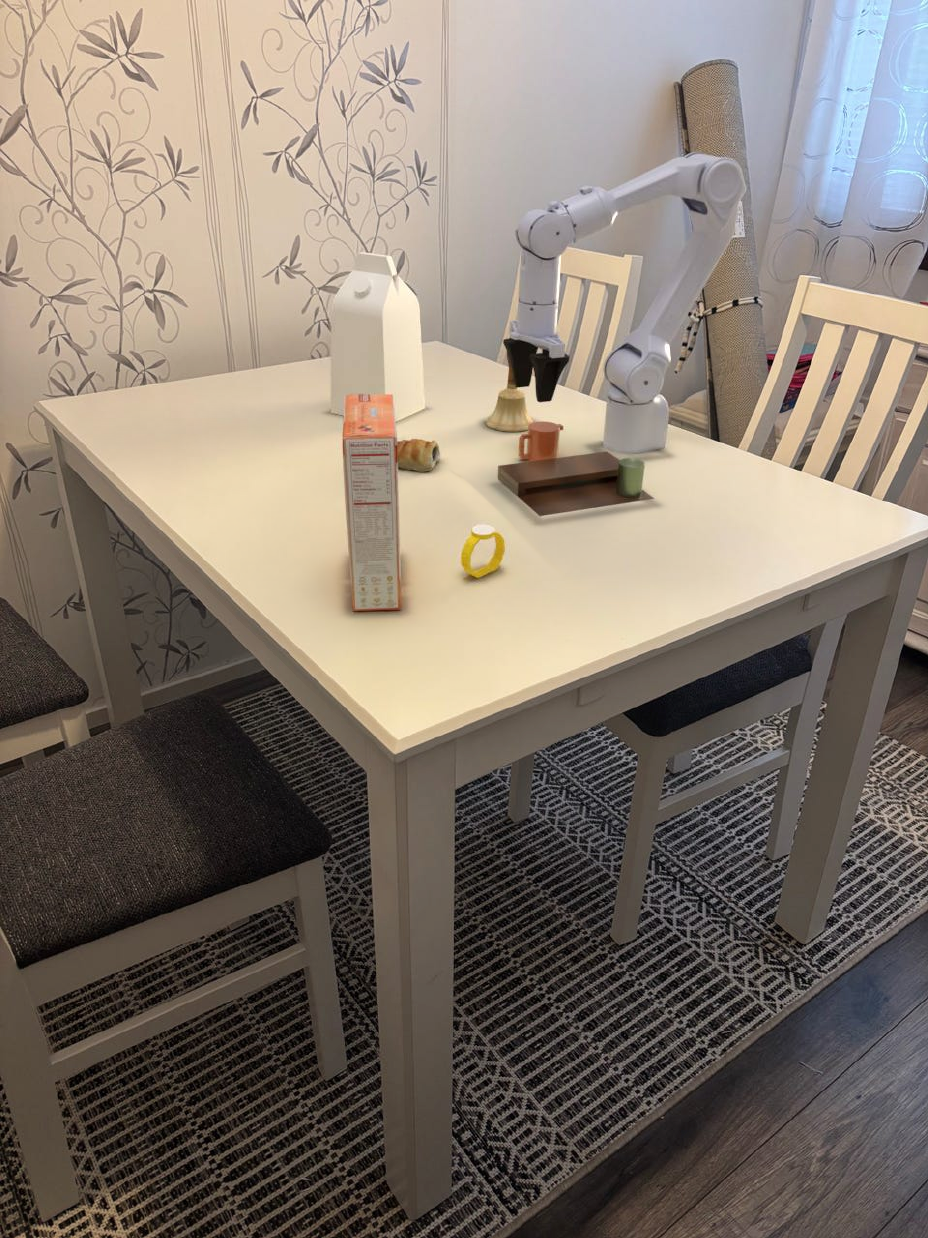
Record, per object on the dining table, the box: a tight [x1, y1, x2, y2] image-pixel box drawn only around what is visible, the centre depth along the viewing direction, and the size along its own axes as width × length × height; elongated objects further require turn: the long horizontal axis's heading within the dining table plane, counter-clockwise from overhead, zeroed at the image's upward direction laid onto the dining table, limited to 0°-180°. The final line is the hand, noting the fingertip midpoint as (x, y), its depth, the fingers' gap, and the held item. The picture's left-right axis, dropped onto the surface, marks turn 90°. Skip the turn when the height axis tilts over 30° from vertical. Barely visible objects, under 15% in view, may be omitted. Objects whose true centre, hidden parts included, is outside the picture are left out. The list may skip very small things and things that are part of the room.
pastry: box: [397, 438, 441, 472], centre depth 148 cm, size 9×7×4 cm
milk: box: [330, 251, 426, 423], centre depth 164 cm, size 12×12×26 cm
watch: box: [460, 524, 506, 579], centre depth 116 cm, size 6×3×6 cm, turn 132°
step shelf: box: [497, 451, 655, 517], centre depth 139 cm, size 18×14×3 cm
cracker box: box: [342, 394, 403, 612], centre depth 110 cm, size 14×6×21 cm, turn 5°
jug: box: [518, 421, 564, 462], centre depth 148 cm, size 7×5×6 cm
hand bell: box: [485, 336, 534, 433], centre depth 161 cm, size 8×8×16 cm
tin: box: [616, 457, 646, 497], centre depth 137 cm, size 4×4×4 cm
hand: (532, 393), depth 146 cm, fingers open, 7 cm apart
